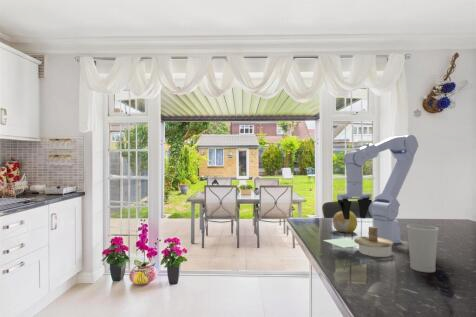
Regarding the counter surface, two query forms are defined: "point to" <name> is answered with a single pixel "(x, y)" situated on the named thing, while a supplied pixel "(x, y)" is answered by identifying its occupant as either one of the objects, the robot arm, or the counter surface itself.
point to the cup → (422, 247)
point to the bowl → (375, 251)
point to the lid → (373, 239)
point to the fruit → (344, 222)
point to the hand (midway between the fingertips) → (354, 218)
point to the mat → (343, 242)
